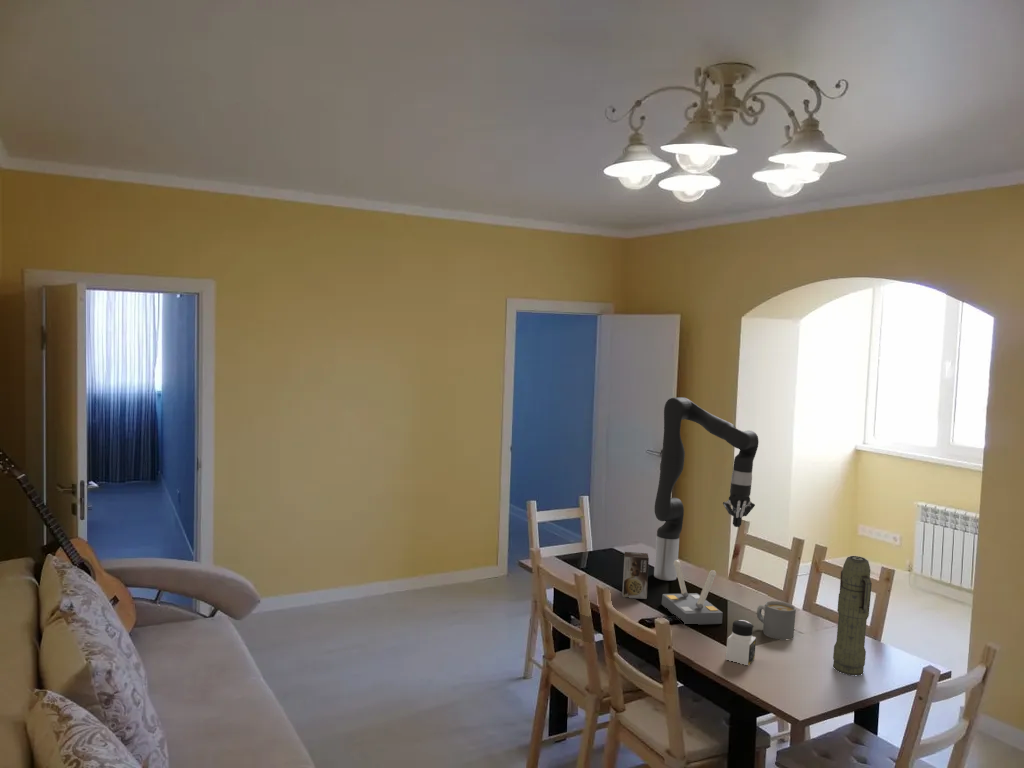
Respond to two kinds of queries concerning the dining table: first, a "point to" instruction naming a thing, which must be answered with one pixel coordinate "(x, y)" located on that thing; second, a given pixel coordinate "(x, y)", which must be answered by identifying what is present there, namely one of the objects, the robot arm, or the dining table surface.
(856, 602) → the thermos
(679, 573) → the switch
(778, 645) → the dining table surface
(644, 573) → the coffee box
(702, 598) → the switch
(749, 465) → the robot arm
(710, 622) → the switch unit
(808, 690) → the dining table surface
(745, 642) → the medicine bottle
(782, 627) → the coffee mug
